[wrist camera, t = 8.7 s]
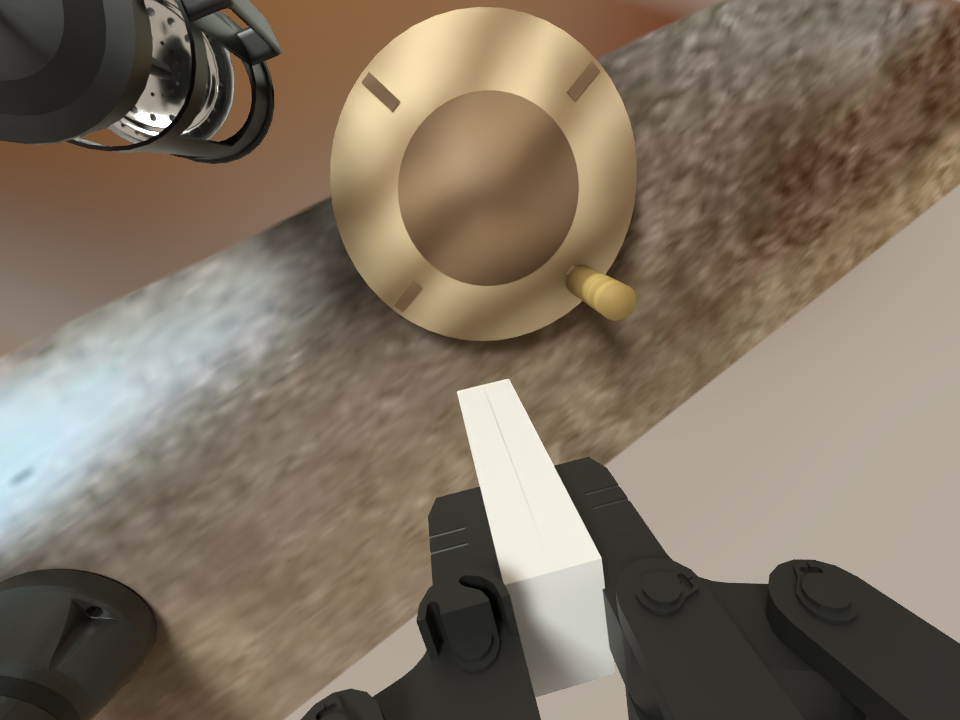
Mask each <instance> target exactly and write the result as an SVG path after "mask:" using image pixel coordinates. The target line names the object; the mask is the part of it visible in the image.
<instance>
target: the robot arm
mask: <svg viewBox="0 0 960 720" xmlns="http://www.w3.org/2000/svg"><path fill="white" fill-rule="evenodd" d="M457 394H458V398H459V402H460V406H461V410H462V414H463V418H464V423H465V427H466V431H467V435H468V439H469V443H470V448H471V452H472V456H473V460H474V464H475V468H476V473H477V477H478V481H479V485H480V487H477V488H473V489H469V490H465V491H461V492H457V493H454V494H450V495H446V496H442V497H438V498H436V500H435V502H434V504H433V507H432V509H431V511H430V514H429V516H428V521H429V536H430V551H431V565H432V580H433V586H431V587H430V588H429V589H428V591H427V593H426V594H425V596H424V598H423V599H422V601H421V603H420V604H419V610H418V616H417V624H418V627H419V630H420V632H421V635H422V638H423V640H424V643H425V646H426V649H427V651H426V653H425V655H424V656H423V658H422V659H421V660H420V661H419V662H418V663H417V665H416V666H415V667H414V668H413V669H412V670H411V671H409V672H408V673H407V674H406V675H405V676H403V677H402V678H401V679H399V680H398V681H396V682H395V683H393V684H392V685H390V686H389V687H387V688H386V689H384V690H383V691H381V692H379V693H378V694H376V695H375V696H373V697H371V696H370V695H369V694H368V693H367V692H364V691H359V690H354V689H348V690H343V691H339V692H335V693H332V694H331V695H329V696H327V697H326V698H324V699H323V700H321V701H320V702H318V703H316V704H315V705H314V706H313V707H312V708H311V709H310V710H309V711H308V712H307V713H306V715H305V716H304V717H303V718H302V719H301V720H541V718H540V715H539V711H538V707H537V703H536V699H535V697H538V696H541V695H545V694H548V693H551V692H555V691H558V690H561V689H565V688H568V687H572V686H575V685H579V684H582V683H585V682H589V681H592V680H596V679H599V678H602V677H606V676H609V675H613V674H615V669H614V660H615V662H616V665H617V667H618V669H619V672H620V674H621V676H622V679H623V681H624V683H625V687H626V697H627V707H628V716H629V720H960V644H959V643H958V642H956V641H955V640H953V639H952V638H950V637H949V636H947V635H946V634H944V633H943V632H941V631H940V630H938V629H937V628H935V627H934V626H932V625H930V624H929V623H927V622H926V621H924V620H923V619H921V618H920V617H918V616H917V615H915V614H914V613H912V612H910V611H909V610H907V609H906V608H904V607H903V606H901V605H900V604H898V603H897V602H895V601H894V600H892V599H891V598H889V597H887V596H886V595H885V594H883V593H881V592H880V591H878V590H877V589H875V588H874V587H872V586H871V585H869V584H868V583H866V582H865V581H863V580H862V579H860V578H858V577H857V576H855V575H853V574H851V573H849V572H847V571H845V570H843V569H841V568H839V567H837V566H835V565H831V564H827V563H824V562H820V561H816V560H791V561H788V562H785V563H782V564H779V565H778V566H777V567H776V568H775V569H774V570H773V572H772V573H771V574H770V575H769V584H749V583H747V584H746V583H724V582H715V581H710V580H707V579H704V578H700V577H698V576H697V575H696V574H695V573H694V572H693V571H692V570H691V569H689V568H687V567H685V566H683V565H681V564H679V563H677V562H675V561H673V560H672V559H671V558H670V557H669V556H668V555H667V554H666V552H665V551H664V549H663V548H662V546H661V545H660V544H659V542H658V541H657V539H656V538H655V536H654V535H653V534H652V532H651V531H650V529H649V528H648V526H647V525H646V524H645V522H644V521H643V519H642V518H641V516H640V515H639V513H638V512H637V511H636V509H635V508H634V506H633V505H632V503H631V502H630V501H628V499H627V496H626V495H625V493H624V492H623V491H622V489H621V488H620V487H619V486H618V483H617V482H616V481H615V479H614V478H613V476H612V475H611V473H610V472H609V471H608V469H607V468H606V467H604V466H603V465H601V464H599V463H598V462H596V461H595V460H593V459H591V458H590V457H586V458H582V459H578V460H575V461H571V462H567V463H563V464H559V465H555V466H554V465H553V463H552V461H551V459H550V457H549V456H548V454H547V452H546V450H545V448H544V446H543V444H542V442H541V440H540V438H539V436H538V434H537V432H536V430H535V428H534V427H533V425H532V423H531V421H530V419H529V417H528V415H527V413H526V411H525V409H524V407H523V405H522V403H521V401H520V399H519V398H518V396H517V394H516V392H515V390H514V388H513V386H512V384H511V382H510V380H509V379H505V380H501V381H497V382H493V383H489V384H485V385H481V386H476V387H472V388H468V389H464V390H460V391H457ZM155 637H156V624H155V620H154V617H153V615H152V613H151V611H150V610H149V608H148V607H147V605H146V604H145V603H144V602H143V601H142V600H141V599H140V598H139V597H138V596H137V595H136V594H135V593H133V592H132V591H131V590H129V589H127V588H126V587H124V586H122V585H121V584H119V583H117V582H115V581H112V580H110V579H107V578H105V577H102V576H99V575H95V574H91V573H87V572H82V571H75V570H62V569H52V570H39V571H33V572H28V573H24V574H20V575H17V576H15V577H12V578H10V579H8V580H6V581H4V582H2V583H0V720H92V719H93V718H94V717H95V716H96V715H97V714H98V713H99V711H100V710H101V709H102V708H103V707H104V706H105V705H106V704H107V703H108V702H109V701H110V700H111V699H112V698H113V697H114V695H115V694H116V693H117V692H118V691H119V690H120V689H121V688H122V687H123V686H124V685H125V684H126V683H127V682H128V681H129V680H130V679H131V678H132V677H133V676H134V675H135V674H136V673H137V672H138V670H139V669H140V667H141V666H142V664H143V662H144V661H145V659H146V657H147V655H148V653H149V651H150V650H151V648H152V646H153V644H154V641H155ZM613 658H614V660H613Z"/></svg>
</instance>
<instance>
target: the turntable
mask: <svg viewBox="0 0 960 720" xmlns="http://www.w3.org/2000/svg"><path fill="white" fill-rule="evenodd" d="M636 188H637V158H636V149H635V141H634V137H633V133H632V128H631V124H630V120H629V117H628V115H627V112H626V109H625V107H624V104H623V101H622V99H621V97H620V95H619V93H618V92H617V90H616V88H615V86H614V84H613V82H612V80H611V79H610V77H609V76H608V75H607V73H606V72H605V70H604V69H603V68H602V66H601V65H600V63H599V62H598V61H597V60H596V59H595V58H594V57H593V56H592V55H591V54H590V53H589V52H588V50H587V49H586V48H585V47H584V46H583V45H581V44H580V43H579V42H578V41H576V40H575V39H574V38H573V37H571V36H570V35H569V34H567V33H566V32H565V31H563V30H561V29H559V28H558V27H556V26H554V25H553V24H551V23H549V22H547V21H545V20H543V19H540V18H537V17H535V16H532V15H530V14H527V13H523V12H519V11H514V10H510V9H505V8H490V7H475V8H467V9H458V10H454V11H450V12H447V13H443V14H440V15H437V16H434V17H432V18H429V19H427V20H425V21H423V22H421V23H418V24H416V25H414V26H412V27H411V28H410V29H408V30H407V31H405V32H404V33H402V34H401V35H399V36H398V37H396V38H395V39H393V40H392V41H391V42H390V43H389V44H388V45H387V46H386V47H385V48H384V49H382V51H380V52H379V53H378V54H377V55H376V56H375V57H374V59H373V60H372V61H371V62H370V64H369V65H368V66H367V67H366V69H365V70H364V71H363V72H362V73H361V75H360V77H359V78H358V80H357V82H356V83H355V85H354V87H353V88H352V90H351V92H350V93H349V96H348V98H347V100H346V103H345V105H344V107H343V109H342V112H341V114H340V117H339V121H338V124H337V128H336V131H335V135H334V139H333V146H332V153H331V160H330V190H331V198H332V206H333V211H334V215H335V219H336V223H337V227H338V231H339V233H340V236H341V238H342V241H343V244H344V246H345V249H346V251H347V253H348V255H349V256H350V258H351V260H352V262H353V264H354V266H355V268H356V269H357V271H358V272H359V273H360V275H361V276H362V278H363V279H364V280H365V282H366V283H367V285H368V286H369V287H370V288H371V289H372V290H373V291H374V292H375V293H376V294H377V296H378V297H379V298H380V299H381V300H382V301H383V302H385V303H386V304H387V305H388V306H389V307H391V308H392V309H393V310H394V311H395V312H397V313H398V314H400V315H401V316H403V317H404V318H406V319H407V320H409V321H410V322H412V323H414V324H416V325H418V326H420V327H422V328H424V329H426V330H429V331H432V332H435V333H438V334H441V335H443V336H447V337H452V338H457V339H462V340H473V341H491V340H502V339H508V338H513V337H518V336H521V335H524V334H527V333H531V332H533V331H536V330H538V329H540V328H542V327H545V326H547V325H549V324H551V323H552V322H554V321H556V320H558V319H559V318H561V317H563V316H564V315H566V314H567V313H568V312H569V311H571V310H572V309H573V308H575V307H576V306H577V305H579V304H580V303H581V302H582V301H583V302H585V303H586V304H588V305H589V306H590V307H592V308H593V309H595V310H596V311H598V312H599V313H600V314H602V315H603V316H605V317H606V318H607V319H609V320H613V321H618V320H622V319H624V318H626V317H627V316H629V315H630V314H631V312H632V311H633V309H634V307H635V304H636V295H635V293H634V291H633V290H632V288H630V287H629V286H627V285H625V284H623V283H621V282H619V281H617V280H615V279H613V278H611V277H609V276H607V275H605V274H606V273H607V271H608V270H609V268H610V267H611V265H612V264H613V262H614V260H615V258H616V256H617V254H618V252H619V250H620V248H621V246H622V244H623V242H624V239H625V236H626V233H627V231H628V228H629V225H630V221H631V217H632V213H633V209H634V204H635V196H636Z"/></svg>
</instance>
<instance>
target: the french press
mask: <svg viewBox="0 0 960 720" xmlns="http://www.w3.org/2000/svg"><path fill="white" fill-rule="evenodd" d="M225 8H229V9H231V10H232V11H233V12H234V13H235V14H236V15H237V16H238V17H239V18H240V19H242V20H243V21H244V22H245V23H246V24H247V25H248V26H249V27H247V28H245V29H242V28H241V27H240V26H238V25H237V24H236V23H235V22H234V21H233V20H231V19H230V18H229V17H228V16H226V15H225V14H223V13H221V12H220V10H222V9H225ZM229 51H230V52H232V53H233V54H234V55H236V56H237V57H239V58H240V59H241V60H242V62H243V64H244V66H245V68H246V71H247V73H248V76H249V79H250V84H251V88H252V103H251V110H250V113H249V116H248V119H247V121H246V122H245V124H244V125H243V127H242V128H241V129H240V130H239V131H238V132H237V133H236V134H235V135H234V136H232V137H230V138H228V139H227V140H224V141H220V142H216V141H210V140H209V139H210V138H211V137H212V136H213V135H214V134H215V133H216V132H217V131H218V130H219V129H220V128H221V126H222V125H223V123H224V122H225V120H226V118H227V116H228V114H229V111H230V108H231V105H232V101H233V94H234V73H233V67H232V62H231V58H230V55H229ZM280 54H281V49H280V46H279V44H278V42H277V40H276V38H275V36H274V34H273V32H272V30H271V27H270V25H269V23H268V22H267V20H266V19H265V17H264V16H262V14H261V13H260V12H259V11H258V10H257V9H256V7H255V6H254V5H253V4H252V3H251V2H250V1H249V0H0V141H9V142H16V143H24V144H33V145H34V144H49V143H50V144H51V143H61V142H65V141H66V142H69V143H72V144H75V145H79V146H82V147H85V148H89V149H97V150H104V151H113V152H125V153H127V152H142V151H147V152H157V153H167V154H171V155H174V156H177V157H183V158H187V159H190V160H193V161H196V162H203V163H211V164H215V163H227V162H230V161H234V160H238V159H240V158H242V157H244V156H245V155H247V154H249V153H251V152H252V151H253V150H254V149H255V148H256V147H257V146H258V145H259V144H260V143H261V141H262V140H263V138H264V137H265V135H266V134H267V132H268V129H269V127H270V124H271V121H272V117H273V111H274V89H273V85H272V80H271V76H270V73H269V70H268V68H267V65H266V62H265V61H266V60H268V59H271V58H273V57H275V56H278V55H280ZM107 127H108V128H109V129H111V130H112V131H113V132H115V133H116V134H118V135H119V136H121V137H122V138H125V139H127V140H129V141H131V142H133V143H134V144H132V145H128V146H114V147H110V146H104V145H101V144H97V143H94V142H91V141H88V140H85V139H83V138H81V137H82V136H84V135H86V134H88V133H91V132H94V131H98V130H101V129H105V128H107Z"/></svg>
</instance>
